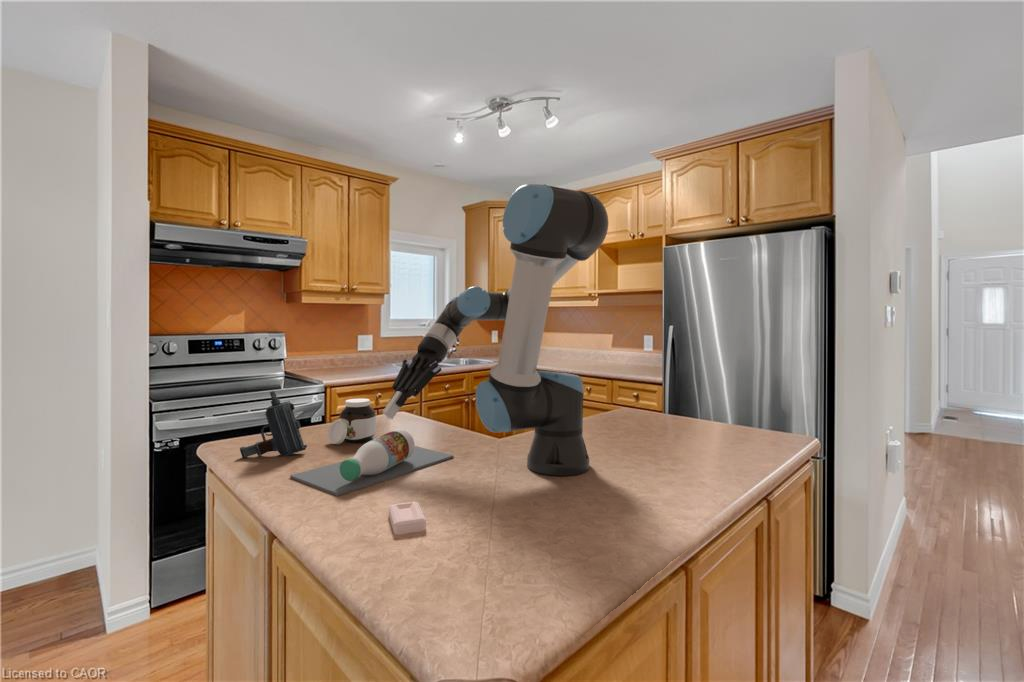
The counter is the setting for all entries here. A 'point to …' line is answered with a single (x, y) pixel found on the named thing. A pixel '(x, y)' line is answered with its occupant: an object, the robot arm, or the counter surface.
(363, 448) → the milk bottle
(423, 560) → the counter surface
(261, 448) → the gun
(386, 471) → the rubber mat
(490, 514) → the counter surface
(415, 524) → the soap bar
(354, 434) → the spread jar
